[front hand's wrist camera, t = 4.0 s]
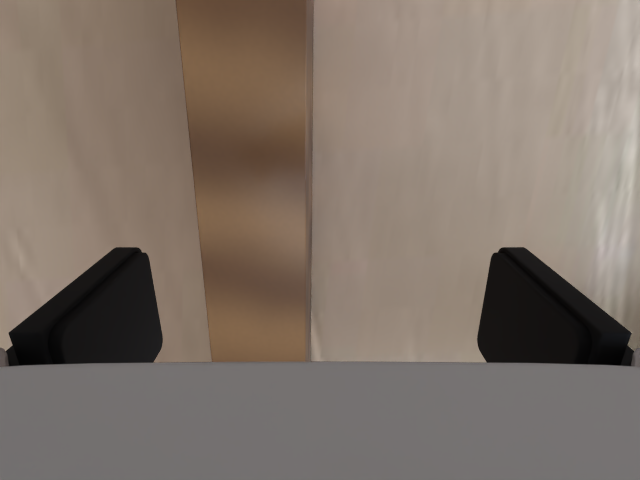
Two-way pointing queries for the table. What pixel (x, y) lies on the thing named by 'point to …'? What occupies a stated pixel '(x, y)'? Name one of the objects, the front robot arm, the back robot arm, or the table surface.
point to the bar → (252, 171)
